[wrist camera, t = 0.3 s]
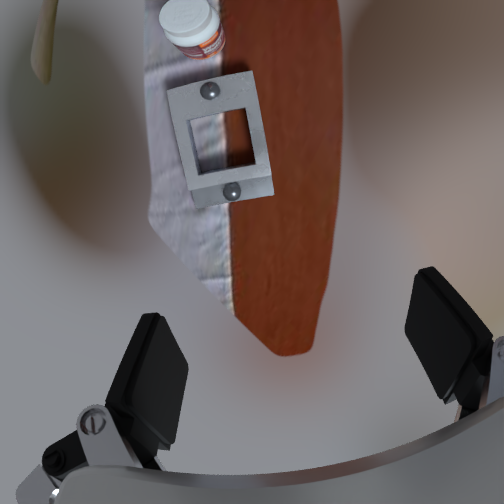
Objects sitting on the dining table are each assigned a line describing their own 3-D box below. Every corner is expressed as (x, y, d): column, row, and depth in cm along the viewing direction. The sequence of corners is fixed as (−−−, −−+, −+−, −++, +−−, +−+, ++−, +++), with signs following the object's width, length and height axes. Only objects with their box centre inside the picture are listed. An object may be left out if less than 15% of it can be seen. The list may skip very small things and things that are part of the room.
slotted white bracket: (171, 92, 31) (164, 89, 28) (252, 74, 30) (252, 69, 27) (197, 206, 38) (193, 213, 35) (273, 192, 37) (275, 198, 34)
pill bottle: (216, 65, 29) (202, 41, 19) (174, 56, 28) (144, 34, 18) (232, 27, 26) (224, -7, 16) (189, 20, 25) (167, -13, 15)
